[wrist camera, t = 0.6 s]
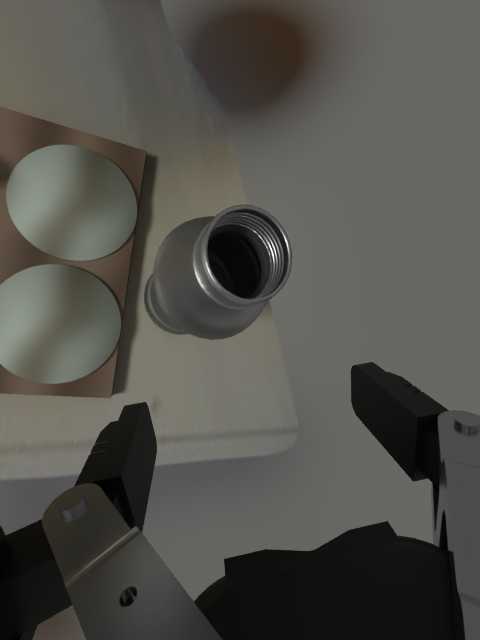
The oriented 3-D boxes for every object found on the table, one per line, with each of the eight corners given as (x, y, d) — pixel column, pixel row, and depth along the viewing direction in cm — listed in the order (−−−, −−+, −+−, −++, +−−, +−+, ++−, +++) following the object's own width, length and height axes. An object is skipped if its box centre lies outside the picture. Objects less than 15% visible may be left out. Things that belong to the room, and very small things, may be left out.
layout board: (-118, 384, 22) (-172, 396, 19) (-61, 96, 24) (-100, 51, 20) (111, 395, 28) (108, 406, 24) (145, 158, 29) (147, 131, 25)
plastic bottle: (204, 264, 31) (312, 165, 12) (212, 329, 31) (333, 331, 12) (138, 269, 29) (147, 156, 10) (148, 339, 29) (174, 358, 10)
